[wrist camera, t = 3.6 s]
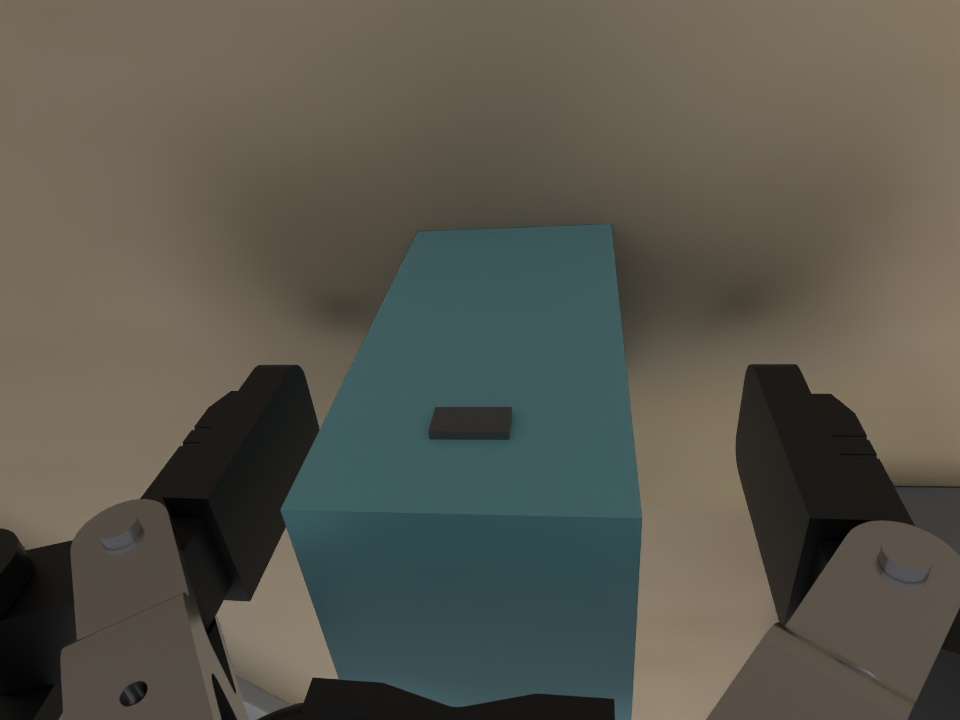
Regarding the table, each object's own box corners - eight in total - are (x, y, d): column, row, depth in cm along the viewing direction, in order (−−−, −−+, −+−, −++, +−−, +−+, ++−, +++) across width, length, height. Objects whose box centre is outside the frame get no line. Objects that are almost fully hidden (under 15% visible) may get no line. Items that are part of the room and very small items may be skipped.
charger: (440, 386, 17) (348, 707, 10) (416, 225, 14) (277, 501, 8) (608, 386, 16) (630, 726, 9) (611, 217, 14) (642, 508, 7)
